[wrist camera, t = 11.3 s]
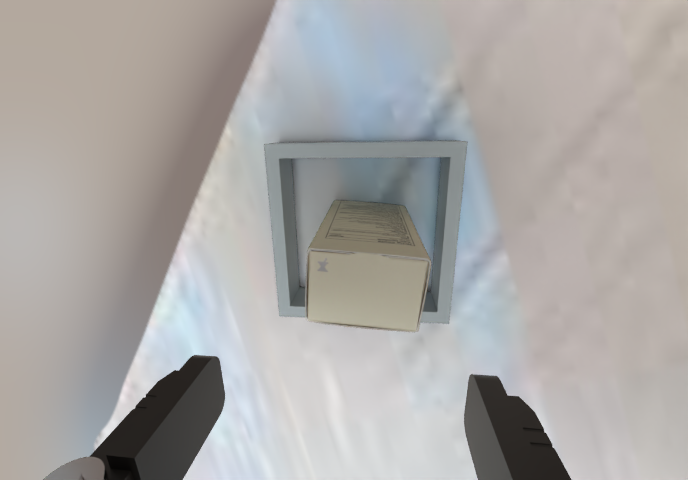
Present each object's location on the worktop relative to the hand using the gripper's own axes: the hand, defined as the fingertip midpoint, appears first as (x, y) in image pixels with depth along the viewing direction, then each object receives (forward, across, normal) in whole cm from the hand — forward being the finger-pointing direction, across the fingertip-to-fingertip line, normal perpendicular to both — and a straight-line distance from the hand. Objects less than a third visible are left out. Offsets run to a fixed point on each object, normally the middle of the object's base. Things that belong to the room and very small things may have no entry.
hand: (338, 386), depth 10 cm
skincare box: (+19, 0, 0) cm, 19 cm away
